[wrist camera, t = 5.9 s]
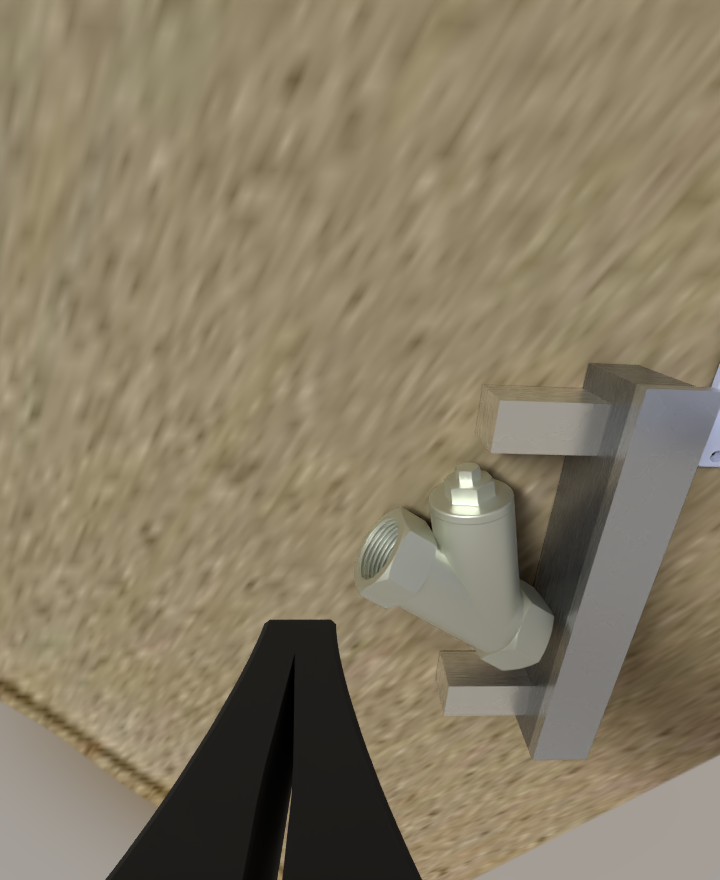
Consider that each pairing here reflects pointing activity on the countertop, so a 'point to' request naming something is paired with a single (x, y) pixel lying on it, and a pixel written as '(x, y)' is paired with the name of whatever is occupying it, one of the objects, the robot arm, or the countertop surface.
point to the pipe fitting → (459, 569)
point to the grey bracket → (587, 540)
